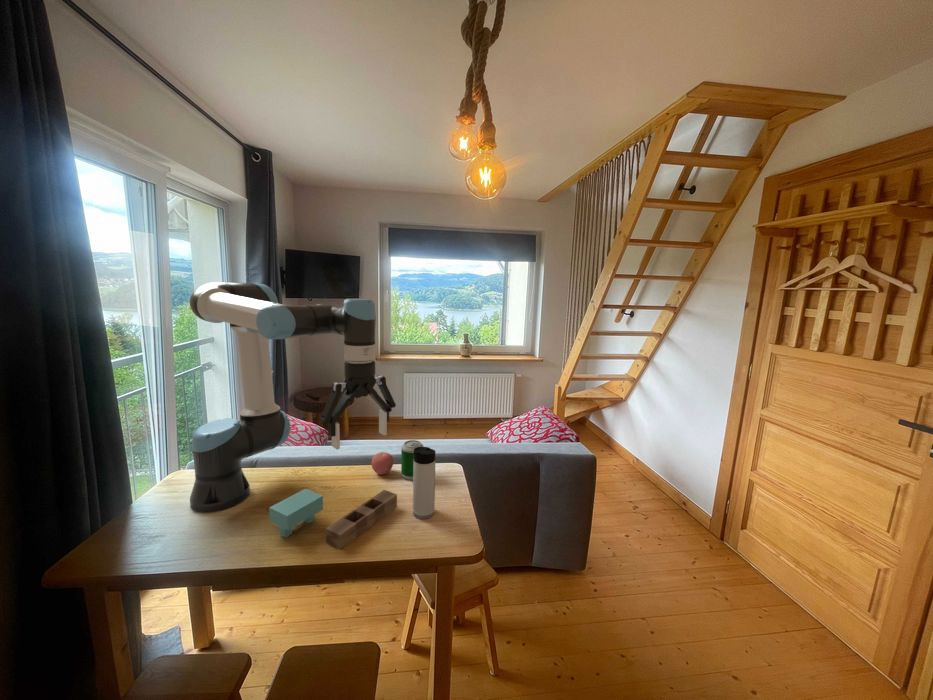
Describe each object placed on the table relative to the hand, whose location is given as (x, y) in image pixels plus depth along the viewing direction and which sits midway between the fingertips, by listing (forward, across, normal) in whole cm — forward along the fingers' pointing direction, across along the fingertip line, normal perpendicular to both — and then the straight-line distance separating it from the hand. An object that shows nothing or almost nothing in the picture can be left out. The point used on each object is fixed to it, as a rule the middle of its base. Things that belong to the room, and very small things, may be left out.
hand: (360, 440), depth 98 cm
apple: (+26, +21, +22) cm, 40 cm away
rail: (+25, +2, +1) cm, 25 cm away
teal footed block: (+25, -12, +12) cm, 30 cm away
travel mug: (+25, +17, -6) cm, 31 cm away
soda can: (+25, +28, +14) cm, 40 cm away
